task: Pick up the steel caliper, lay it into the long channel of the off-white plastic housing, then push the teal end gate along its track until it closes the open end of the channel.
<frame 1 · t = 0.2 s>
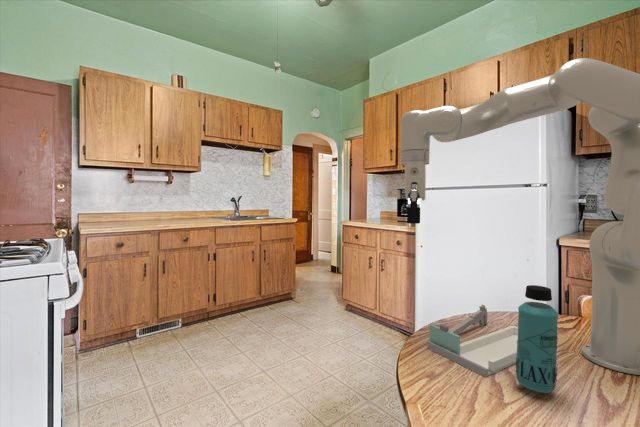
hand: (413, 222, 85), 30 cm above the table, tool pointing down, fingers open, 9 cm apart
caliper: (465, 333, 87), on the table
gate: (444, 338, 75), point 3 cm above the table, slide at 7.0 cm
housing: (502, 352, 75), on the table
beverage bottle: (535, 392, 60), on the table
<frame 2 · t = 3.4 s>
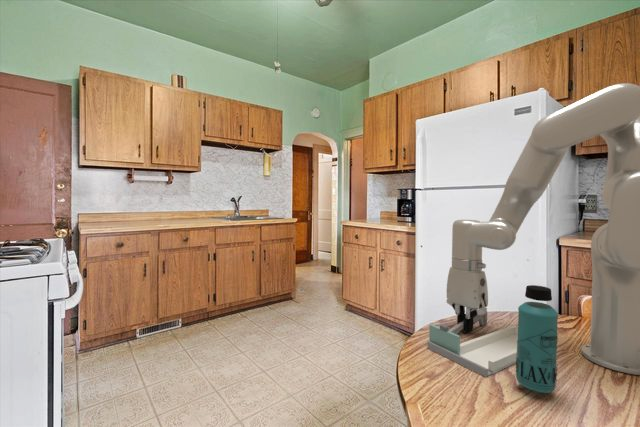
hand: (464, 330, 87), 0 cm above the table, tool pointing down, fingers closed on caliper, 1 cm apart
caliper: (464, 332, 87), on the table, touching gripper
everything else where it was.
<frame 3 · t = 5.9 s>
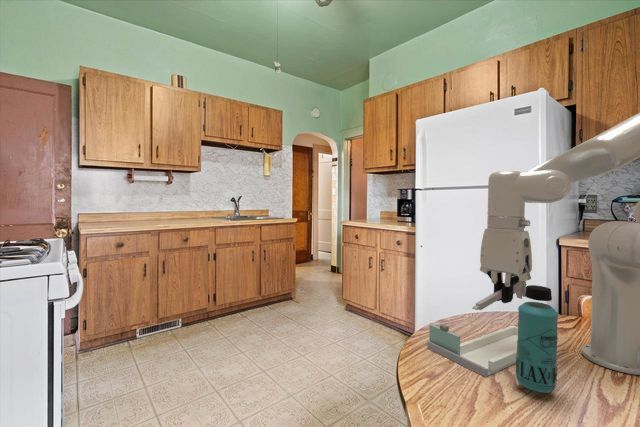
hand: (503, 300, 75), 12 cm above the table, tool pointing down, fingers closed on caliper, 1 cm apart
caliper: (500, 304, 74), point 12 cm above the table, touching gripper
everything else where it was.
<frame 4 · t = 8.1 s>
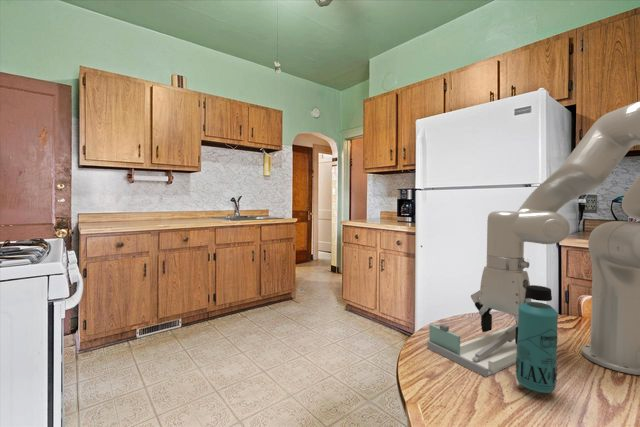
hand: (502, 336, 75), 4 cm above the table, tool pointing down, fingers open, 7 cm apart
caliper: (500, 351, 75), resting on housing
everything else where it was.
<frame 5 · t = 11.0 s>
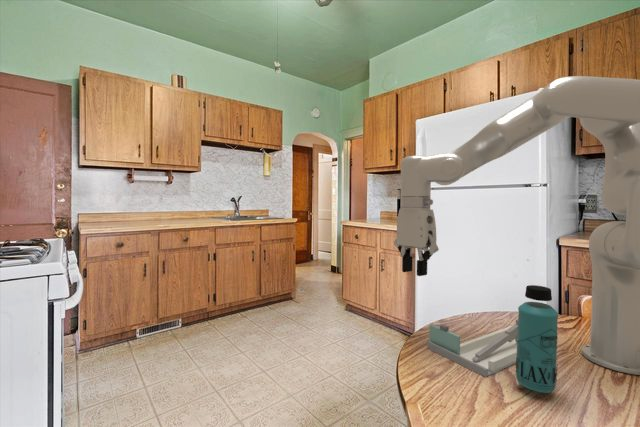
hand: (414, 272, 83), 17 cm above the table, tool pointing down, fingers open, 4 cm apart
nothing on the table moved.
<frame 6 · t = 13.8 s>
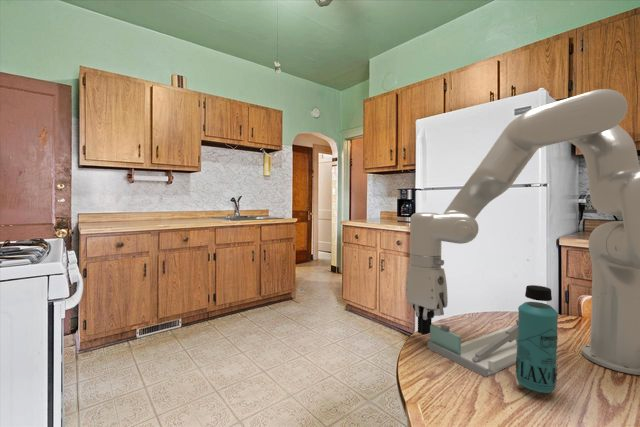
hand: (424, 332, 80), 3 cm above the table, tool pointing down, fingers closed
gate: (444, 338, 75), point 3 cm above the table, slide at 6.8 cm, touching gripper
everything else where it was.
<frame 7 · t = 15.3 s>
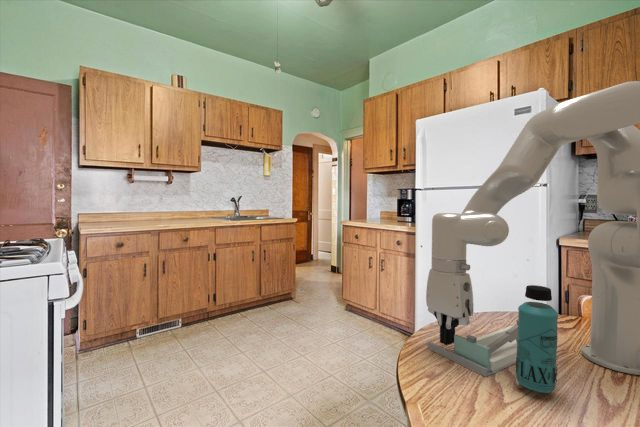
hand: (447, 342, 74), 3 cm above the table, tool pointing down, fingers closed
gate: (471, 350, 69), point 3 cm above the table, slide at 0.0 cm, touching gripper
everything else where it was.
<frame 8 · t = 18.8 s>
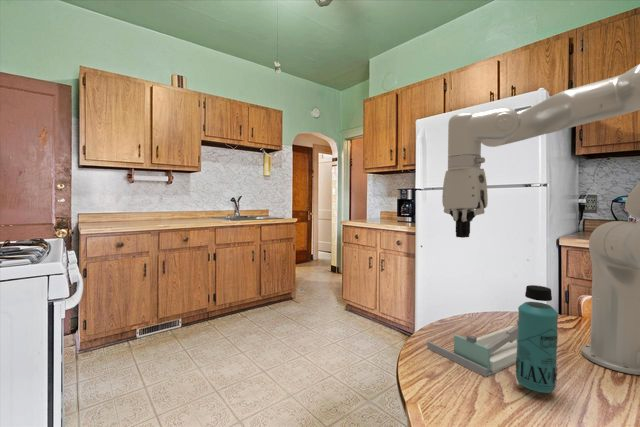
hand: (462, 236, 80), 27 cm above the table, tool pointing down, fingers closed
gate: (471, 350, 69), point 3 cm above the table, slide at 0.0 cm
everything else where it was.
at the end: caliper inside the target area on the housing (1.3 cm from its centre), point 0.4 cm above the housing's base; gate slide at 0.0 cm; the gripper is holding nothing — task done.
